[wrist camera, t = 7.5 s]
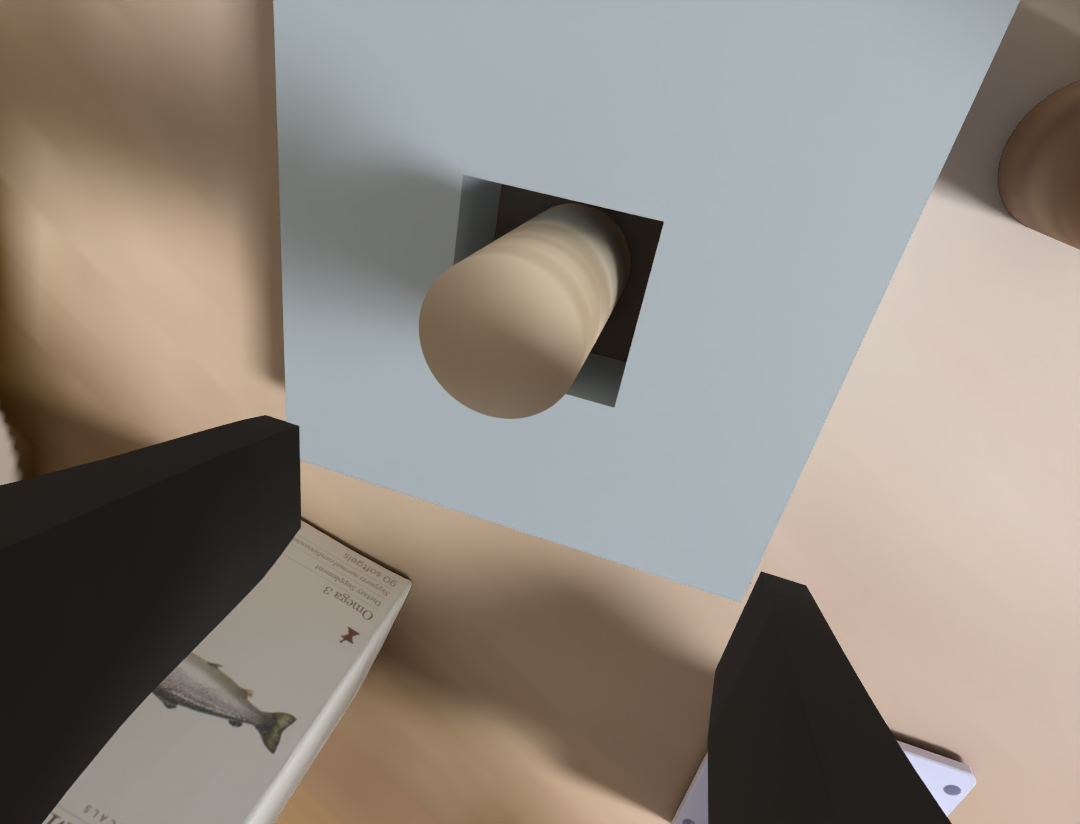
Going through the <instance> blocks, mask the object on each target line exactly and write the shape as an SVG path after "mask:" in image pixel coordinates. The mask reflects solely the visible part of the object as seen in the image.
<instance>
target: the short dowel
mask: <svg viewBox="0 0 1080 824" xmlns="http://www.w3.org/2000/svg"><path fill="white" fill-rule="evenodd" d="M998 187H999V193H1000V196H1001V199H1002V201H1003V203H1004V205H1005V207H1006V209H1007V210H1008V211H1009V213H1010V214H1011V215H1012V216H1013V217H1014V218H1015V219H1016V220H1017V221H1019V222H1020V223H1022V224H1023V225H1025V226H1026V227H1029V228H1031V229H1033V230H1035V231H1038V232H1040V233H1042V234H1045V235H1047V236H1049V237H1052V238H1054V239H1056V240H1059V241H1061V242H1063V243H1066V244H1068V245H1070V246H1073V247H1075V248H1077V249H1080V81H1077V82H1074V83H1072V84H1070V85H1068V86H1066V87H1064V88H1062V89H1060V90H1058V91H1056V92H1055V93H1053V94H1051V95H1050V96H1048V97H1047V98H1046V99H1044V100H1043V101H1042V102H1040V103H1039V104H1038V105H1037V106H1036V107H1034V108H1033V109H1032V110H1031V111H1030V112H1029V113H1028V114H1027V115H1026V116H1025V117H1024V119H1023V120H1022V121H1021V122H1020V123H1019V125H1018V126H1017V127H1016V129H1015V130H1014V131H1013V133H1012V135H1011V136H1010V138H1009V140H1008V142H1007V143H1006V146H1005V148H1004V150H1003V153H1002V156H1001V160H1000V163H999V169H998Z"/></svg>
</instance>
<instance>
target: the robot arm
mask: <svg viewBox="0 0 1080 824" xmlns="http://www.w3.org/2000/svg"><path fill="white" fill-rule="evenodd" d="M300 528H301V492H300V432H299V426H298V425H295V424H292V423H288V422H285V421H282V420H279V419H276V418H273V417H269V416H266V415H264V416H259V417H254V418H250V419H245V420H241V421H237V422H234V423H230V424H226V425H222V426H219V427H215V428H211V429H208V430H204V431H201V432H197V433H194V434H191V435H187V436H184V437H180V438H177V439H173V440H170V441H166V442H163V443H159V444H156V445H152V446H149V447H145V448H142V449H138V450H135V451H131V452H128V453H125V454H121V455H118V456H114V457H110V458H107V459H103V460H99V461H95V462H91V463H87V464H84V465H80V466H76V467H72V468H68V469H64V470H60V471H56V472H53V473H49V474H45V475H41V476H37V477H33V478H29V479H25V480H21V481H17V482H13V483H9V484H4V485H0V824H42V823H43V822H44V821H45V819H46V818H47V817H48V815H49V814H50V813H51V812H52V810H53V809H54V808H55V807H56V805H57V804H58V803H59V801H60V800H61V799H62V798H63V796H64V795H65V794H66V792H67V791H68V790H69V789H70V787H71V786H72V785H73V784H74V783H75V781H76V780H77V779H78V778H79V776H80V775H81V774H82V773H83V772H84V770H85V769H86V768H87V767H88V765H89V764H90V763H91V762H92V761H93V759H94V758H95V757H96V756H97V755H98V753H99V752H100V751H101V750H102V748H103V747H104V746H105V745H106V744H107V742H108V741H109V740H110V739H111V738H112V736H113V735H114V734H115V733H116V731H117V730H118V729H119V728H120V727H121V725H122V724H123V723H124V722H125V721H126V720H127V719H128V718H129V716H130V715H131V714H132V713H133V712H134V711H135V710H136V709H137V708H138V707H139V706H140V704H141V703H142V702H143V701H144V700H145V699H146V698H147V697H148V696H149V695H150V694H151V693H152V692H153V691H154V690H155V689H156V688H157V686H158V685H159V684H160V683H161V682H162V681H163V680H164V679H165V678H166V677H167V676H168V675H169V674H170V673H171V672H172V671H173V670H174V669H175V668H176V667H177V666H178V665H179V664H180V663H181V662H182V661H183V660H184V659H185V658H186V657H187V656H188V655H189V654H190V653H191V652H192V651H193V650H194V649H195V648H196V647H197V646H198V645H199V644H200V643H201V642H202V641H203V640H204V639H205V638H206V637H207V636H208V635H209V634H210V633H211V632H212V631H213V630H214V629H215V628H216V627H217V626H218V625H219V624H220V623H221V622H222V621H223V620H224V619H225V617H226V616H227V615H228V614H229V613H230V612H231V611H232V610H233V609H234V608H235V607H236V606H237V605H238V604H239V603H240V602H241V601H242V600H243V599H244V598H245V597H246V596H247V595H248V594H249V593H250V592H251V591H252V589H253V588H254V587H255V586H256V585H257V584H258V583H259V582H260V581H261V580H262V579H263V578H264V576H265V575H266V574H267V573H268V571H269V570H270V569H271V567H272V566H273V565H274V564H275V562H276V561H277V560H278V558H279V557H280V556H281V554H282V553H283V552H284V550H285V549H286V548H287V546H288V545H289V543H290V542H291V541H292V539H293V538H294V537H295V535H296V534H297V532H298V531H299V530H300ZM975 784H976V778H975V775H974V773H973V770H972V769H971V768H970V767H969V766H968V765H966V764H964V763H961V762H958V761H955V760H952V759H950V758H947V757H944V756H941V755H938V754H935V753H932V752H929V751H926V750H923V749H920V748H917V747H915V746H912V745H909V744H906V743H903V742H900V741H897V740H896V739H895V737H894V736H893V734H892V732H891V731H890V729H889V728H888V726H887V724H886V723H885V721H884V720H883V718H882V716H881V715H880V713H879V711H878V710H877V708H876V706H875V705H874V703H873V701H872V700H871V698H870V696H869V695H868V693H867V691H866V690H865V688H864V686H863V685H862V683H861V681H860V679H859V678H858V676H857V674H856V673H855V671H854V669H853V667H852V666H851V664H850V662H849V660H848V659H847V657H846V655H845V653H844V652H843V650H842V648H841V646H840V645H839V643H838V641H837V639H836V638H835V636H834V634H833V632H832V630H831V629H830V627H829V625H828V623H827V622H826V620H825V618H824V616H823V614H822V613H821V611H820V609H819V607H818V606H817V604H816V602H815V600H814V598H813V597H812V595H811V593H810V592H809V590H808V588H807V586H806V585H802V584H799V583H796V582H793V581H790V580H787V579H783V578H780V577H777V576H774V575H771V574H768V573H764V572H761V573H760V575H759V577H758V579H757V582H756V584H755V586H754V588H753V590H752V592H751V594H750V597H749V599H748V601H747V603H746V605H745V607H744V610H743V612H742V614H741V616H740V618H739V620H738V623H737V625H736V627H735V629H734V631H733V633H732V635H731V638H730V640H729V642H728V644H727V646H726V648H725V651H724V653H723V655H722V657H721V659H720V661H719V664H718V666H717V668H716V670H715V679H714V687H713V695H712V704H711V713H710V723H709V733H708V751H707V753H706V755H705V757H704V759H703V761H702V763H701V765H700V767H699V769H698V771H697V773H696V775H695V777H694V779H693V781H692V783H691V785H690V787H689V789H688V791H687V793H686V795H685V797H684V799H683V800H682V802H681V804H680V806H679V808H678V810H677V812H676V814H675V816H674V818H673V820H672V822H671V824H952V823H951V822H950V821H949V819H948V818H947V816H948V815H949V814H950V813H951V812H952V810H953V809H954V808H955V807H956V806H957V805H958V804H959V803H960V802H961V800H962V799H963V798H964V797H965V796H966V795H967V794H968V793H969V792H970V790H971V789H972V788H973V787H974V786H975Z"/></svg>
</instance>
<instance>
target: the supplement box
mask: <svg viewBox="0 0 1080 824" xmlns="http://www.w3.org/2000/svg"><path fill="white" fill-rule="evenodd" d="M411 586H412V583H411V581H410V580H408V579H405V578H403V577H401V576H399V575H397V574H395V573H393V572H391V571H389V570H387V569H385V568H383V567H382V566H380V565H378V564H376V563H374V562H373V561H371V560H369V559H367V558H365V557H364V556H362V555H360V554H358V553H356V552H355V551H353V550H351V549H349V548H348V547H346V546H344V545H342V544H341V543H339V542H337V541H336V540H334V539H332V538H331V537H329V536H327V535H326V534H324V533H322V532H320V531H318V530H317V529H315V528H314V527H312V526H310V525H309V524H307V523H305V522H303V521H301V528H300V530H299V531H298V532H297V534H296V535H295V537H294V538H293V539H292V541H291V542H290V543H289V545H288V546H287V548H286V549H285V550H284V552H283V553H282V554H281V556H280V557H279V558H278V560H277V561H276V562H275V564H274V565H273V566H272V567H271V569H270V570H269V571H268V573H267V574H266V575H265V576H264V578H263V579H262V580H261V581H260V582H259V583H258V584H257V585H256V586H255V587H254V588H253V589H252V591H251V592H250V593H249V594H248V595H247V596H246V597H245V598H244V599H243V600H242V601H241V602H240V603H239V604H238V605H237V606H236V607H235V608H234V609H233V610H232V611H231V612H230V613H229V614H228V615H227V616H226V617H225V619H224V620H223V621H222V622H221V623H220V624H219V625H218V626H217V627H216V628H215V629H214V630H213V631H212V632H211V633H210V634H209V635H208V636H207V637H206V638H205V639H204V640H203V641H202V642H201V643H200V644H199V645H198V646H197V647H196V648H195V649H194V650H193V651H192V652H191V653H190V654H189V655H188V656H187V657H186V658H185V659H184V660H183V661H182V662H181V663H180V664H179V665H178V666H177V667H176V668H175V669H174V670H173V671H172V672H171V673H170V674H169V675H168V676H167V677H166V678H165V679H164V680H163V681H162V682H161V683H160V684H159V685H158V686H157V688H156V689H155V690H154V691H153V692H152V693H151V694H150V695H149V696H148V697H147V698H146V699H145V700H144V701H143V702H142V703H141V704H140V706H139V707H138V708H137V709H136V710H135V711H134V712H133V713H132V714H131V715H130V716H129V718H128V719H127V720H126V721H125V722H124V723H123V724H122V725H121V727H120V728H119V729H118V730H117V731H116V733H115V734H114V735H113V736H112V738H111V739H110V740H109V741H108V742H107V744H106V745H105V746H104V747H103V748H102V750H101V751H100V752H99V753H98V755H97V756H96V757H95V758H94V759H93V761H92V762H91V763H90V764H89V765H88V767H87V768H86V769H85V770H84V772H83V773H82V774H81V775H80V776H79V778H78V779H77V780H76V781H75V783H74V784H73V785H72V786H71V787H70V789H69V790H68V791H67V792H66V794H65V795H64V796H63V798H62V799H61V800H60V801H59V803H58V804H57V805H56V807H55V808H54V809H53V810H52V812H51V813H50V814H49V815H48V817H47V818H46V819H45V821H44V822H43V823H42V824H274V822H275V821H276V819H277V818H278V816H279V814H280V813H281V811H282V810H283V808H284V807H285V805H286V803H287V802H288V800H289V799H290V797H291V796H292V794H293V792H294V791H295V789H296V788H297V786H298V784H299V783H300V781H301V780H302V778H303V777H304V775H305V773H306V772H307V770H308V769H309V767H310V766H311V764H312V762H313V761H314V759H315V758H316V756H317V755H318V753H319V752H320V750H321V748H322V747H323V745H324V744H325V742H326V741H327V739H328V737H329V736H330V734H331V733H332V731H333V730H334V728H335V727H336V725H337V723H338V722H339V720H340V719H341V717H342V716H343V714H344V713H345V711H346V709H347V708H348V706H349V705H350V703H351V702H352V700H353V698H354V697H355V695H356V694H357V692H358V690H359V689H360V687H361V685H362V684H363V682H364V680H365V678H366V676H367V674H368V672H369V670H370V668H371V666H372V665H373V663H374V661H375V659H376V657H377V655H378V653H379V651H380V650H381V648H382V646H383V644H384V642H385V639H386V637H387V635H388V633H389V631H390V629H391V627H392V625H393V623H394V621H395V619H396V617H397V615H398V613H399V611H400V609H401V607H402V605H403V603H404V601H405V599H406V597H407V595H408V593H409V591H410V588H411Z"/></svg>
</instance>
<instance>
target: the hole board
mask: <svg viewBox="0 0 1080 824" xmlns="http://www.w3.org/2000/svg"><path fill="white" fill-rule="evenodd" d="M1019 2H1020V0H273V8H274V40H275V72H276V104H277V136H278V168H279V201H280V233H281V265H282V297H283V329H284V362H285V394H286V422H288V423H292V424H295V425H298V426H299V432H300V460H301V461H304V462H307V463H310V464H313V465H316V466H319V467H322V468H325V469H329V470H332V471H335V472H338V473H341V474H344V475H347V476H350V477H353V478H356V479H360V480H363V481H366V482H369V483H372V484H375V485H378V486H381V487H384V488H387V489H390V490H394V491H397V492H400V493H403V494H406V495H409V496H412V497H415V498H418V499H421V500H425V501H428V502H431V503H434V504H437V505H440V506H443V507H446V508H449V509H452V510H456V511H459V512H462V513H465V514H468V515H471V516H474V517H477V518H480V519H483V520H486V521H490V522H493V523H496V524H499V525H502V526H505V527H508V528H511V529H514V530H517V531H521V532H524V533H527V534H530V535H533V536H536V537H539V538H542V539H545V540H548V541H552V542H555V543H558V544H561V545H564V546H567V547H570V548H573V549H576V550H579V551H582V552H586V553H589V554H592V555H595V556H598V557H601V558H604V559H607V560H610V561H613V562H617V563H620V564H623V565H626V566H629V567H632V568H635V569H638V570H641V571H644V572H648V573H651V574H654V575H657V576H660V577H663V578H666V579H669V580H672V581H675V582H678V583H682V584H685V585H688V586H691V587H694V588H697V589H700V590H703V591H706V592H709V593H713V594H716V595H719V596H722V597H725V598H728V599H731V600H734V601H737V602H740V603H741V602H742V599H743V597H744V595H745V593H746V591H747V589H748V586H749V584H750V582H751V580H752V578H753V576H754V574H755V571H756V569H757V567H758V565H759V563H760V561H761V558H762V556H763V554H764V552H765V550H766V548H767V545H768V543H769V541H770V539H771V537H772V535H773V533H774V530H775V528H776V526H777V524H778V522H779V520H780V517H781V515H782V513H783V511H784V509H785V507H786V504H787V502H788V500H789V498H790V496H791V494H792V492H793V489H794V487H795V485H796V483H797V481H798V479H799V476H800V474H801V472H802V470H803V468H804V466H805V463H806V461H807V459H808V457H809V455H810V453H811V451H812V448H813V446H814V444H815V442H816V440H817V438H818V435H819V433H820V431H821V429H822V427H823V425H824V422H825V420H826V418H827V416H828V414H829V412H830V410H831V407H832V405H833V403H834V401H835V399H836V397H837V394H838V392H839V390H840V388H841V386H842V384H843V382H844V379H845V377H846V375H847V373H848V371H849V369H850V366H851V364H852V362H853V360H854V358H855V356H856V353H857V351H858V349H859V347H860V345H861V343H862V341H863V338H864V336H865V334H866V332H867V330H868V328H869V325H870V323H871V321H872V319H873V317H874V315H875V312H876V310H877V308H878V306H879V304H880V302H881V300H882V297H883V295H884V293H885V291H886V289H887V287H888V284H889V282H890V280H891V278H892V276H893V274H894V271H895V269H896V267H897V265H898V263H899V261H900V259H901V256H902V254H903V252H904V250H905V248H906V246H907V243H908V241H909V239H910V237H911V235H912V233H913V230H914V228H915V226H916V224H917V222H918V220H919V218H920V215H921V213H922V211H923V209H924V207H925V205H926V202H927V200H928V198H929V196H930V194H931V192H932V189H933V187H934V185H935V183H936V181H937V179H938V177H939V174H940V172H941V170H942V168H943V166H944V164H945V161H946V159H947V157H948V155H949V153H950V151H951V149H952V146H953V144H954V142H955V140H956V138H957V136H958V133H959V131H960V129H961V127H962V125H963V123H964V120H965V118H966V116H967V114H968V112H969V110H970V108H971V105H972V103H973V101H974V99H975V97H976V95H977V92H978V90H979V88H980V86H981V84H982V82H983V79H984V77H985V75H986V73H987V71H988V69H989V67H990V64H991V62H992V60H993V58H994V56H995V54H996V51H997V49H998V47H999V45H1000V43H1001V41H1002V38H1003V36H1004V34H1005V32H1006V30H1007V28H1008V26H1009V23H1010V21H1011V19H1012V17H1013V15H1014V13H1015V10H1016V8H1017V6H1018V4H1019ZM502 184H505V185H509V186H514V187H518V188H522V189H527V190H531V191H535V192H539V193H544V194H548V195H552V196H556V197H561V198H565V199H569V200H574V201H578V202H582V203H586V204H591V205H595V206H599V207H603V208H608V209H612V210H616V211H621V212H625V213H629V214H633V215H638V216H642V217H646V218H651V219H655V220H659V221H663V222H664V224H663V228H662V231H661V235H660V239H659V243H658V246H657V250H656V254H655V258H654V261H653V265H652V269H651V273H650V276H649V280H648V284H647V288H646V291H645V295H644V299H643V303H642V306H641V310H640V314H639V318H638V321H637V325H636V329H635V332H634V336H633V340H632V344H631V347H630V351H629V355H628V359H627V362H623V361H620V360H616V359H612V358H609V357H605V356H601V355H598V354H594V353H589V355H588V357H587V358H586V360H585V362H584V364H583V366H582V367H581V369H580V371H579V373H578V375H577V376H576V378H575V380H574V382H573V384H572V385H571V387H570V388H569V390H568V391H567V393H566V394H565V395H564V396H563V397H562V398H561V399H560V400H559V401H558V402H557V403H556V404H555V405H553V406H552V407H550V408H548V409H547V410H545V411H543V412H541V413H539V414H536V415H533V416H530V417H525V418H519V419H503V418H495V417H491V416H487V415H484V414H481V413H478V412H476V411H474V410H472V409H469V408H468V407H466V406H464V405H463V404H461V403H460V402H458V401H457V400H456V399H454V398H453V397H452V396H451V395H450V394H449V393H448V392H447V391H445V390H444V388H443V387H442V386H441V385H440V384H439V383H438V381H437V380H436V378H435V377H434V375H433V374H432V372H431V371H430V369H429V367H428V365H427V363H426V360H425V358H424V355H423V352H422V348H421V344H420V338H419V317H420V311H421V307H422V303H423V301H424V298H425V296H426V294H427V292H428V290H429V289H430V287H431V285H432V284H433V283H434V282H435V280H436V279H437V278H438V277H439V276H440V275H441V274H442V273H443V272H445V271H446V270H447V269H449V268H450V267H452V266H453V265H455V264H457V263H458V262H460V261H462V260H463V259H465V258H467V257H468V256H470V255H472V254H473V253H475V252H477V251H478V250H480V249H482V248H483V247H485V246H487V245H488V244H490V243H492V242H493V241H494V238H495V231H496V224H497V216H498V209H499V202H500V194H501V187H502Z"/></svg>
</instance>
